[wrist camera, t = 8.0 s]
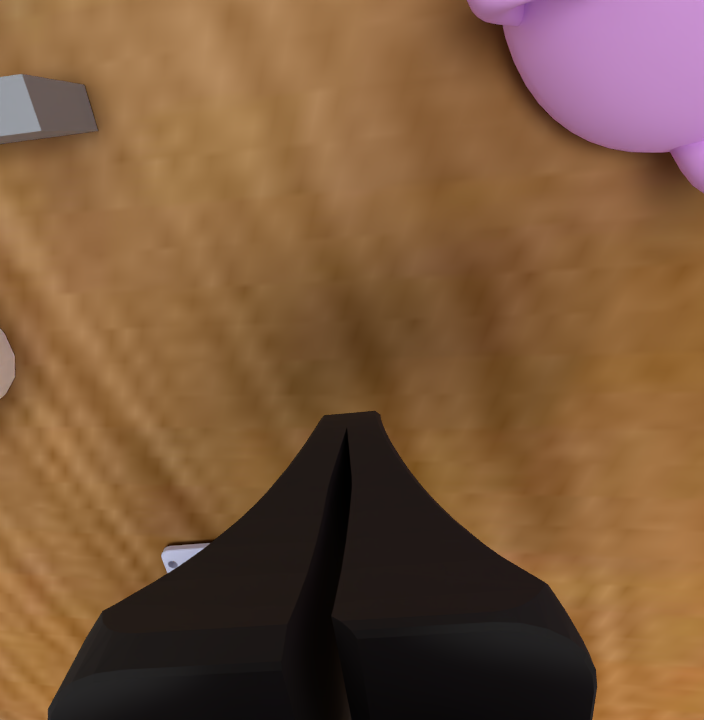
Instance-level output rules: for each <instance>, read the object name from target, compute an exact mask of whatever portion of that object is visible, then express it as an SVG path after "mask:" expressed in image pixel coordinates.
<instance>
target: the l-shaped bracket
mask: <svg viewBox="0 0 704 720" xmlns="http://www.w3.org/2000/svg"><path fill="white" fill-rule="evenodd" d="M94 131H98V129H97V126H96V122H95V119H94V116H93V112H92V109H91V106H90V102H89V99H88V96H87V92H86V89H85V86H84V85H83V84H77V83H71V82H65V81H59V80H54V79H48V78H42V77H36V76H30V75H24V74H19V75H12V76H5V77H0V144H4V143H12V142H19V141H27V140H34V139H42V138H49V137H57V136H64V135H72V134H79V133H87V132H94Z"/></svg>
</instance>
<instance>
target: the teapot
mask: <svg viewBox="0 0 704 720" xmlns="http://www.w3.org/2000/svg"><path fill="white" fill-rule="evenodd" d="M467 2H468V4H469V6H470V8H471V10H472V12H473V13H474V14H475V15H476V16H477V17H478V18H480V19H481V20H483V21H484V22H488V23H493V24H499V25H503V29H504V34H505V38H506V41H507V44H508V47H509V50H510V52H511V55H512V58H513V61H514V64H515V66H516V67H517V69H518V71H519V73H520V75H521V77H522V79H523V81H524V83H525V85H526V86H527V88H528V89H529V91H530V92H531V93H532V95H533V96H534V98H535V99H536V100H537V102H538V103H539V104H540V105H541V106H542V107H543V108H544V110H545V111H546V112H547V113H548V114H549V115H550V116H551V117H552V118H553V119H554V120H556V121H557V122H558V123H560V124H561V125H562V126H564V127H565V128H566V129H568V130H569V131H570V132H572V133H574V134H576V135H578V136H580V137H581V138H583V139H585V140H587V141H589V142H592V143H595V144H598V145H601V146H604V147H607V148H610V149H616V150H622V151H627V152H649V153H660V152H670V153H671V155H672V157H673V158H674V160H675V162H676V163H677V165H678V167H679V169H680V170H681V172H682V173H683V174H684V176H685V177H686V178H687V179H688V181H689V182H690V183H691V184H692V185H693V186H694V187H695V188H697V189H698V190H700V191H701V192H702V193H704V0H467Z"/></svg>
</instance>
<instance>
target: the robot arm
mask: <svg viewBox="0 0 704 720" xmlns="http://www.w3.org/2000/svg"><path fill="white" fill-rule="evenodd" d="M161 557H162V560H163V563H164V565H165V568H166V571H167V573H168V574H166V575H164V576H163V577H161V578H160V579H158V580H156V581H155V582H153V583H151V584H150V585H148V586H146V587H145V588H143V589H141V590H139V591H138V592H136V593H134V594H132V595H131V596H129V597H127V598H126V599H124V600H122V601H120V602H119V603H117V604H115V605H113V606H111V607H110V608H108V609H106V610H104V611H102V613H101V615H100V616H99V618H98V620H97V621H96V623H95V624H94V626H93V628H92V629H91V631H90V632H89V634H88V636H87V637H86V639H85V641H84V643H83V645H82V647H81V649H80V650H79V652H78V654H77V656H76V658H75V660H74V662H73V664H72V666H71V667H70V669H69V671H68V673H67V675H66V677H65V679H64V680H63V682H62V684H61V686H60V688H59V690H58V692H57V693H56V695H55V697H54V699H53V701H52V703H51V705H50V706H49V708H48V720H592V717H593V711H594V704H595V697H596V690H597V679H596V669H595V667H594V665H593V662H592V660H591V657H590V654H589V652H588V650H587V648H586V646H585V644H584V642H583V640H582V638H581V636H580V635H579V633H578V631H577V629H576V628H575V626H574V624H573V622H572V621H571V619H570V617H569V616H568V614H567V612H566V611H565V609H564V608H563V606H562V605H561V603H560V602H559V600H558V599H557V597H556V596H555V594H554V593H553V591H552V590H551V588H550V587H549V585H548V584H546V583H545V582H543V581H542V580H540V579H538V578H537V577H535V576H533V575H532V574H530V573H528V572H527V571H525V570H523V569H521V568H520V567H518V566H516V565H515V564H513V563H511V562H510V561H508V560H506V559H505V558H503V557H501V556H500V555H498V554H497V553H496V552H494V551H493V550H491V549H490V548H489V547H487V546H486V545H484V544H483V543H482V542H481V541H480V540H478V539H477V538H476V537H475V536H473V535H472V534H471V533H470V532H469V531H467V530H466V529H465V528H464V527H463V526H461V525H460V524H459V523H458V522H456V521H455V520H454V519H453V518H452V517H451V516H450V515H449V514H448V513H447V512H446V511H445V510H444V509H443V508H442V507H441V506H440V505H439V504H438V503H437V502H436V501H435V500H434V499H433V498H432V497H431V496H430V495H429V494H428V493H427V491H426V490H425V489H424V488H423V487H422V486H421V484H420V483H419V482H418V481H417V480H416V478H415V477H414V476H413V474H412V473H411V472H410V470H409V469H408V468H407V466H406V465H405V463H404V462H403V461H402V459H401V457H400V456H399V454H398V453H397V451H396V450H395V448H394V446H393V445H392V443H391V441H390V439H389V437H388V435H387V433H386V431H385V429H384V427H383V424H382V421H381V417H380V414H378V413H377V412H376V411H368V412H357V413H346V414H335V415H324V417H323V418H322V419H321V420H320V422H319V423H318V425H317V426H316V428H315V429H314V431H313V433H312V434H311V436H310V437H309V439H308V440H307V442H306V443H305V445H304V446H303V447H302V449H301V450H300V452H299V453H298V454H297V456H296V457H295V458H294V460H293V461H292V462H291V464H290V465H289V466H288V468H287V469H286V470H285V471H284V473H283V474H282V475H281V476H280V477H279V479H278V480H277V481H276V482H275V483H274V485H273V486H272V487H271V488H270V489H269V490H268V492H267V493H266V494H265V495H264V496H263V497H262V498H261V499H260V500H259V501H258V502H257V503H256V504H255V505H254V506H253V507H252V508H251V509H250V510H249V511H248V512H247V513H246V514H245V515H244V516H243V517H242V518H240V519H239V520H238V521H237V522H236V523H235V524H233V525H232V526H231V527H230V528H228V529H227V530H226V531H225V532H224V533H222V534H221V535H220V536H219V537H218V538H216V539H215V540H214V541H213V542H211V543H203V544H189V545H175V546H167V547H166V548H164V550H163V553H162V555H161ZM173 561H174V562H173Z"/></svg>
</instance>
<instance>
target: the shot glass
mask: <svg viewBox="0 0 704 720" xmlns="http://www.w3.org/2000/svg"><path fill="white" fill-rule="evenodd" d="M14 378H15V355H14V353H13V351H12V349H11V347H10V344H9V342H8V340H7V338H6V336H5V333H4V332H3V331H2V330H1V329H0V399H1V398H2V397H3V396H4V395H5V394H6V393H7V391H8V389H9V387H10V386H11V384H12V382H13V380H14Z"/></svg>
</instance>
